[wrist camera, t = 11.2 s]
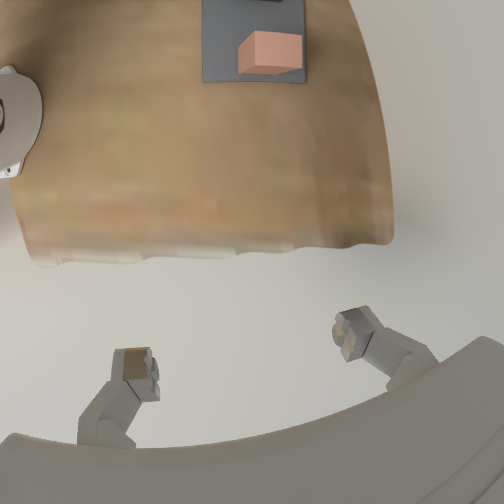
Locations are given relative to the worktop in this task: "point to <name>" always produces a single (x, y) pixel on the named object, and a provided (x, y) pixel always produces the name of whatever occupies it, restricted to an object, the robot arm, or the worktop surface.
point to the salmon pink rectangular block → (270, 53)
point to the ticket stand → (246, 36)
